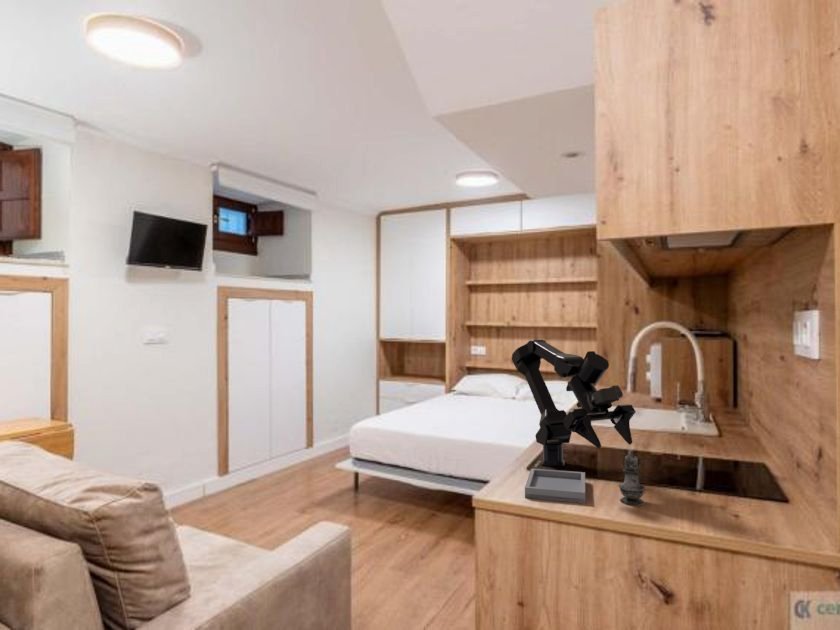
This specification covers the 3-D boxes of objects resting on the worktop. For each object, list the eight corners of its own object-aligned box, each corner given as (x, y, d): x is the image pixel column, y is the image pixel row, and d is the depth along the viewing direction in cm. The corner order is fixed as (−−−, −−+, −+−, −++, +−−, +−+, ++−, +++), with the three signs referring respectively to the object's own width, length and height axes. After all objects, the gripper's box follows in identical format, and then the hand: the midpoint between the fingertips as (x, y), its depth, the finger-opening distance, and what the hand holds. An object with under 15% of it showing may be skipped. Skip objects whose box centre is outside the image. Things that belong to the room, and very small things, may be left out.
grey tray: (531, 477, 139) (531, 468, 139) (585, 481, 135) (584, 472, 135) (525, 497, 124) (524, 487, 124) (585, 503, 119) (585, 492, 119)
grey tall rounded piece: (613, 499, 122) (612, 449, 122) (632, 495, 124) (631, 446, 124) (631, 507, 116) (630, 455, 116) (651, 504, 118) (650, 452, 118)
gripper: (569, 377, 128) (598, 430, 117) (629, 373, 133) (663, 423, 123) (552, 403, 135) (578, 455, 124) (610, 399, 141) (640, 448, 130)
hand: (615, 445), depth 125 cm, fingers open, 9 cm apart
